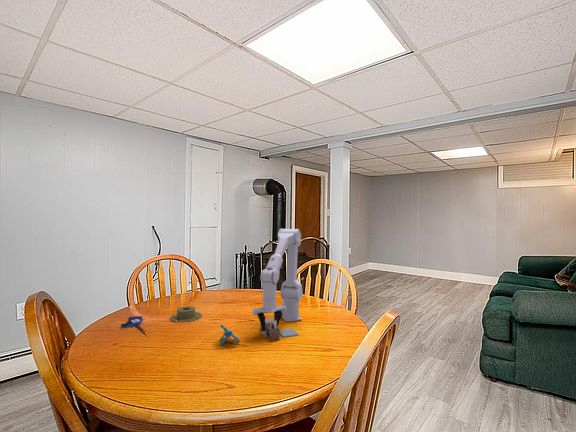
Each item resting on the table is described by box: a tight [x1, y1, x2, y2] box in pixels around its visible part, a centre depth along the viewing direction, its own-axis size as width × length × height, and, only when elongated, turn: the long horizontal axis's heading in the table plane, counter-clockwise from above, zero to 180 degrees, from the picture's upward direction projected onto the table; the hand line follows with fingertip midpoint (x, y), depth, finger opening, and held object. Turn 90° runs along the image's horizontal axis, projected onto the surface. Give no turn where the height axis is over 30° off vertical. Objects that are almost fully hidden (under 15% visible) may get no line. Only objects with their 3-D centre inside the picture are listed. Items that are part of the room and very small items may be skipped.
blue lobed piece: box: [219, 324, 241, 345], centre depth 119 cm, size 11×6×10 cm
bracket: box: [262, 317, 277, 338], centre depth 128 cm, size 4×5×6 cm
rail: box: [259, 322, 281, 342], centre depth 128 cm, size 14×4×4 cm, turn 21°
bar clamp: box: [120, 315, 145, 334], centre depth 132 cm, size 32×2×10 cm
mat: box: [279, 327, 299, 339], centre depth 129 cm, size 7×7×1 cm
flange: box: [169, 305, 203, 323], centre depth 149 cm, size 5×15×15 cm
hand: (269, 329), depth 128 cm, fingers closed on bracket, 5 cm apart
